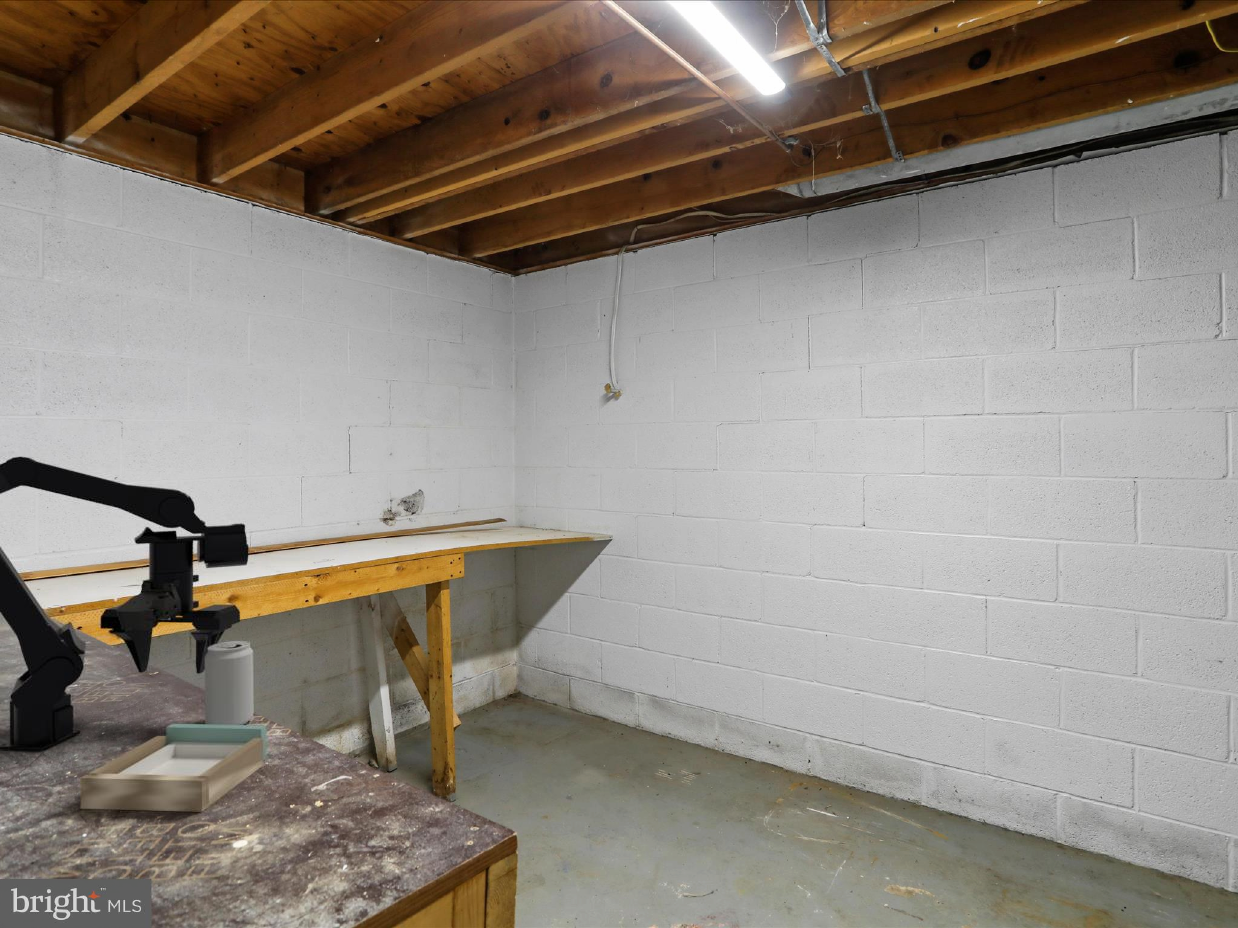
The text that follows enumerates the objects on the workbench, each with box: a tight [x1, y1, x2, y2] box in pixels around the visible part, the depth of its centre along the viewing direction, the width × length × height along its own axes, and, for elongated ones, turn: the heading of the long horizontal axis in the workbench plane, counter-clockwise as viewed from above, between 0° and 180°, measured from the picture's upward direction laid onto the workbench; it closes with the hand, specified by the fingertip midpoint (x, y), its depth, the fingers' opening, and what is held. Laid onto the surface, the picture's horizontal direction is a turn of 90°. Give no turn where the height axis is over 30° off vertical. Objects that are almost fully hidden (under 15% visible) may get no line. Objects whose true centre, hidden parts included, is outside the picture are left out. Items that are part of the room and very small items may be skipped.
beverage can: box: [204, 640, 255, 725], centre depth 105 cm, size 6×6×12 cm
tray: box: [118, 723, 267, 776], centre depth 87 cm, size 13×12×4 cm
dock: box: [80, 735, 264, 813], centre depth 85 cm, size 14×12×4 cm
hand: (171, 672), depth 107 cm, fingers open, 9 cm apart
